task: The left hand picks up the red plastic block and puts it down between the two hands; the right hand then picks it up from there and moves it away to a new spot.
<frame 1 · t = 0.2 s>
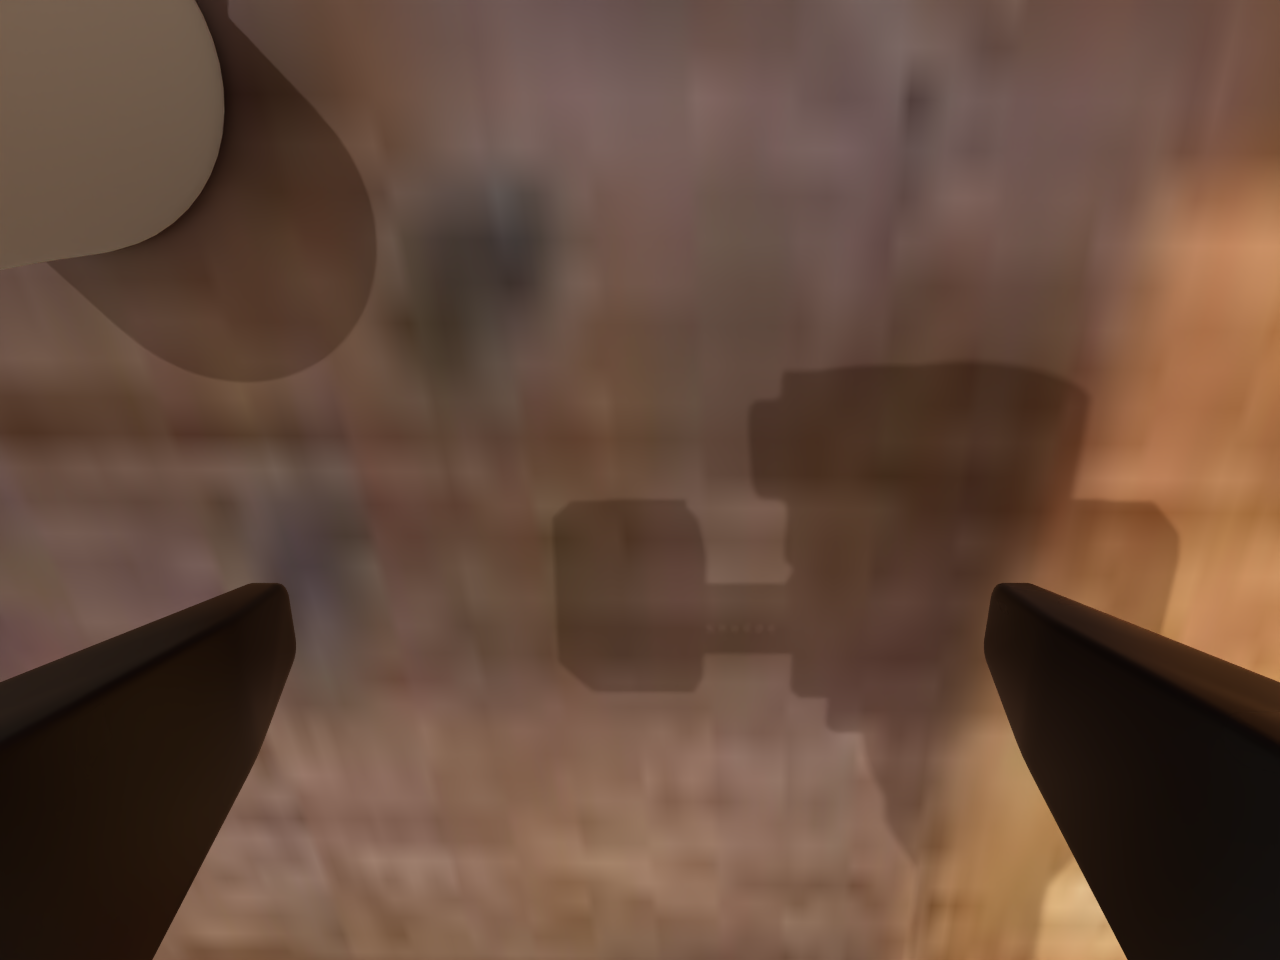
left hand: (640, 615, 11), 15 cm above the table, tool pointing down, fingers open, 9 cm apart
mug: (59, 2, 22), on the table
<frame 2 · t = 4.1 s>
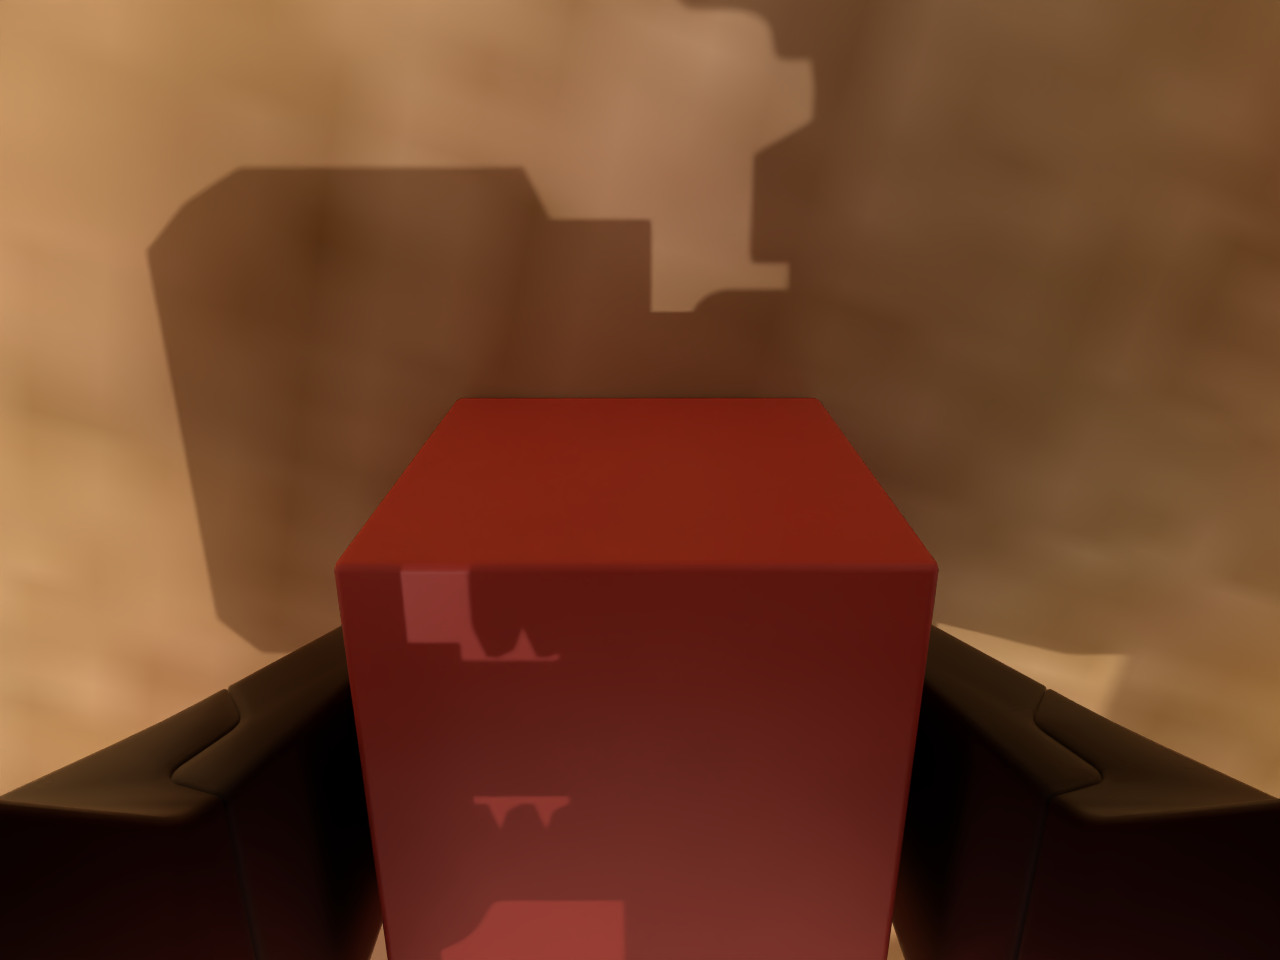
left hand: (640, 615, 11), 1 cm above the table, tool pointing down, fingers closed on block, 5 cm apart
block: (638, 578, 12), on the table, touching left hand
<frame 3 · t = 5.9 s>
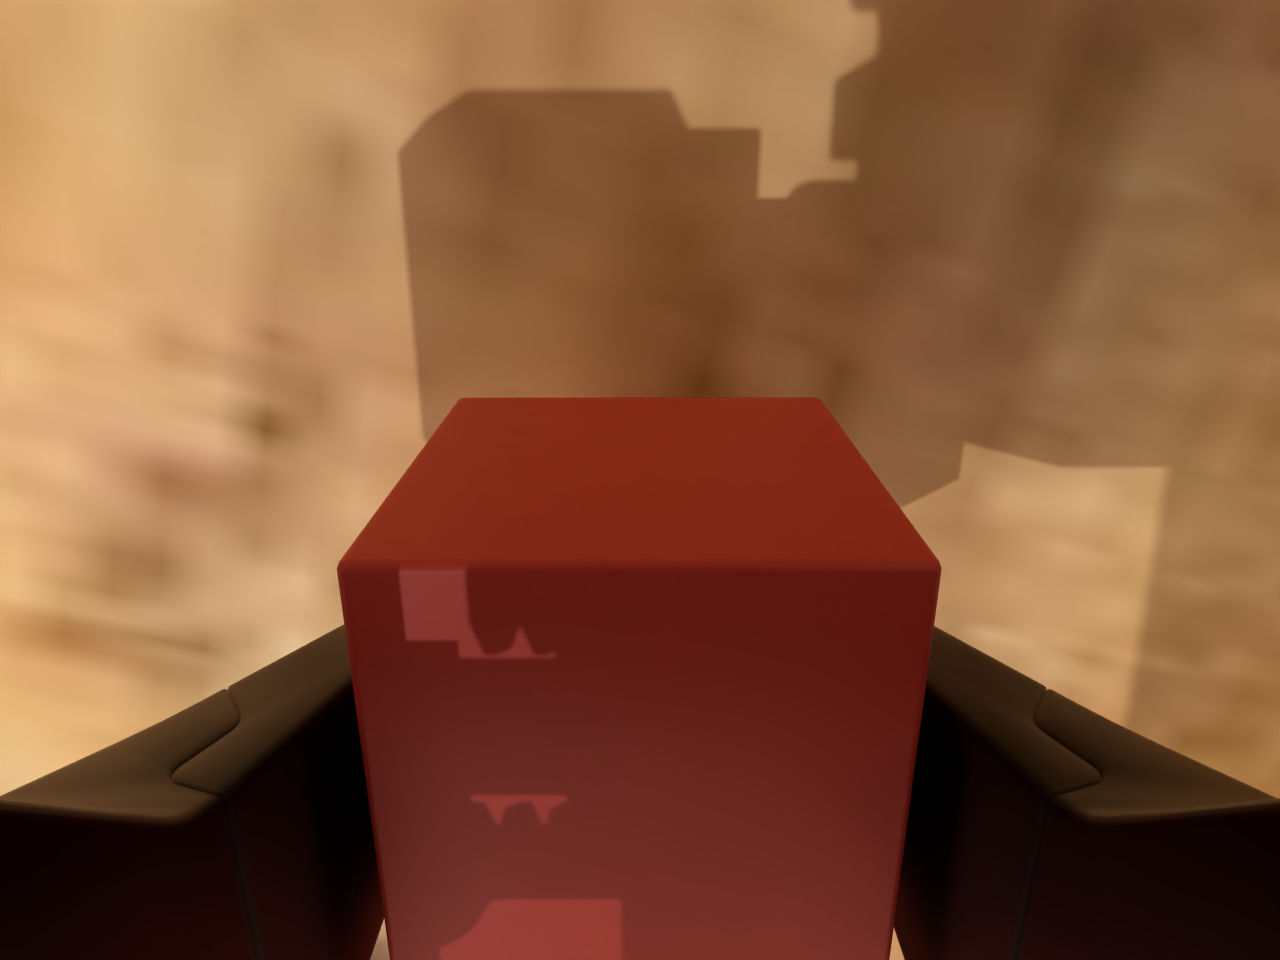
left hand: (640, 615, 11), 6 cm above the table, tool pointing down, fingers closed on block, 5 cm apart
block: (639, 578, 12), point 5 cm above the table, touching left hand
when the left hand's fingers open (2 cm above the table, at t = 7.7 s): block stays where it is, on the table.
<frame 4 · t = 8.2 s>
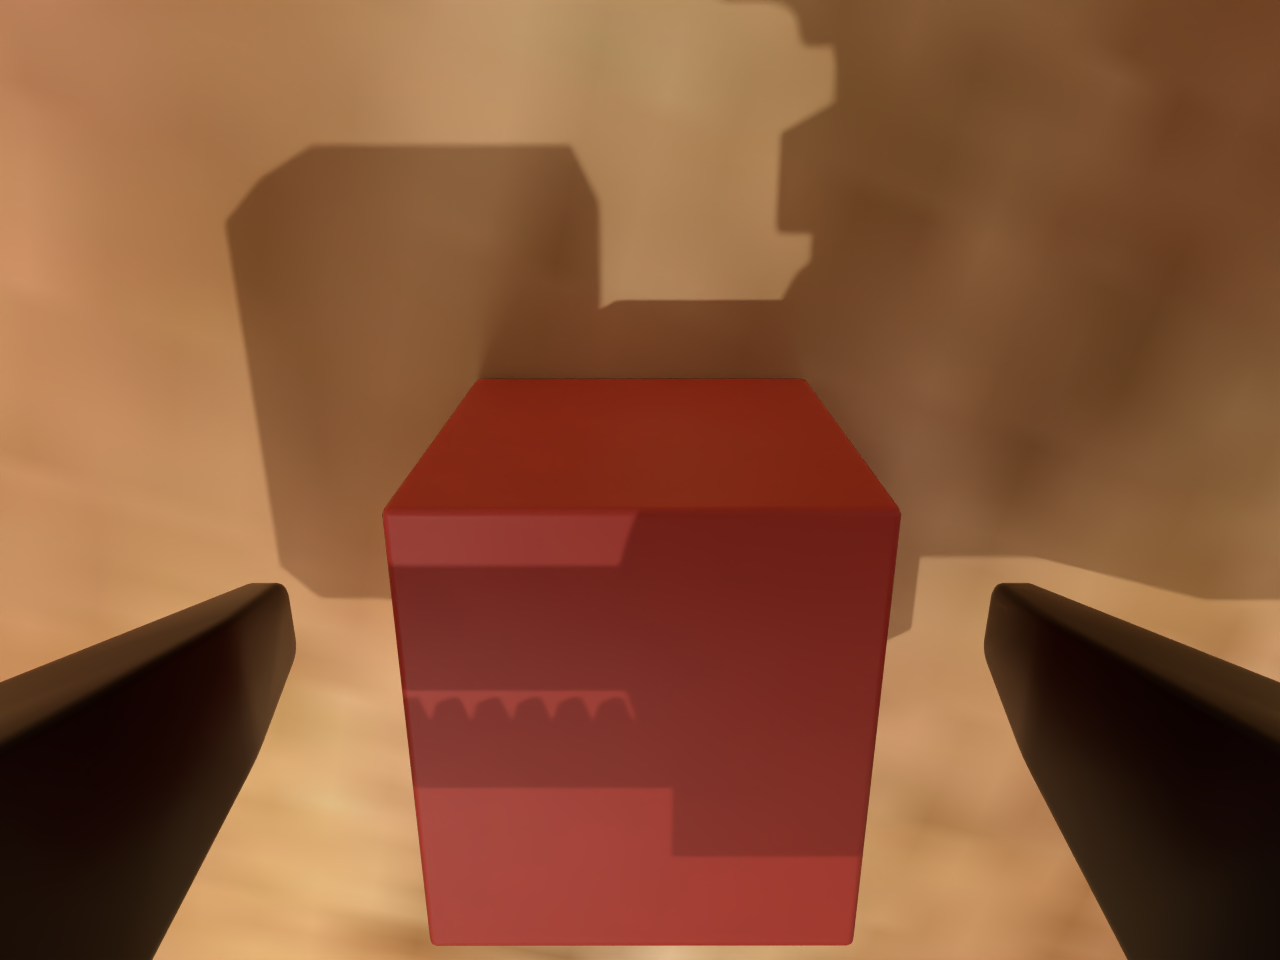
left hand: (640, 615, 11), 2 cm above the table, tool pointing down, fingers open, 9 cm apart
block: (641, 545, 13), on the table
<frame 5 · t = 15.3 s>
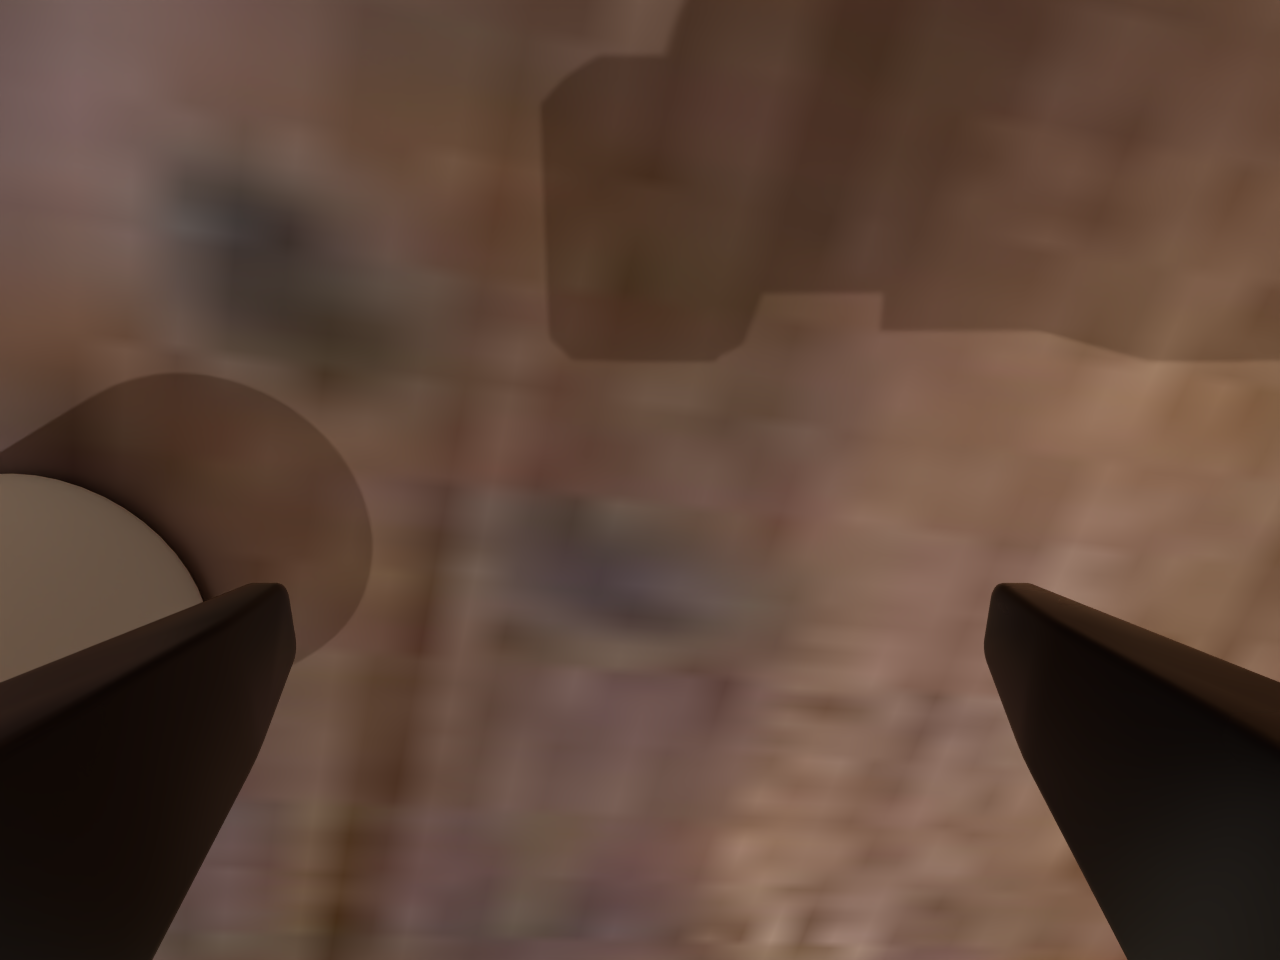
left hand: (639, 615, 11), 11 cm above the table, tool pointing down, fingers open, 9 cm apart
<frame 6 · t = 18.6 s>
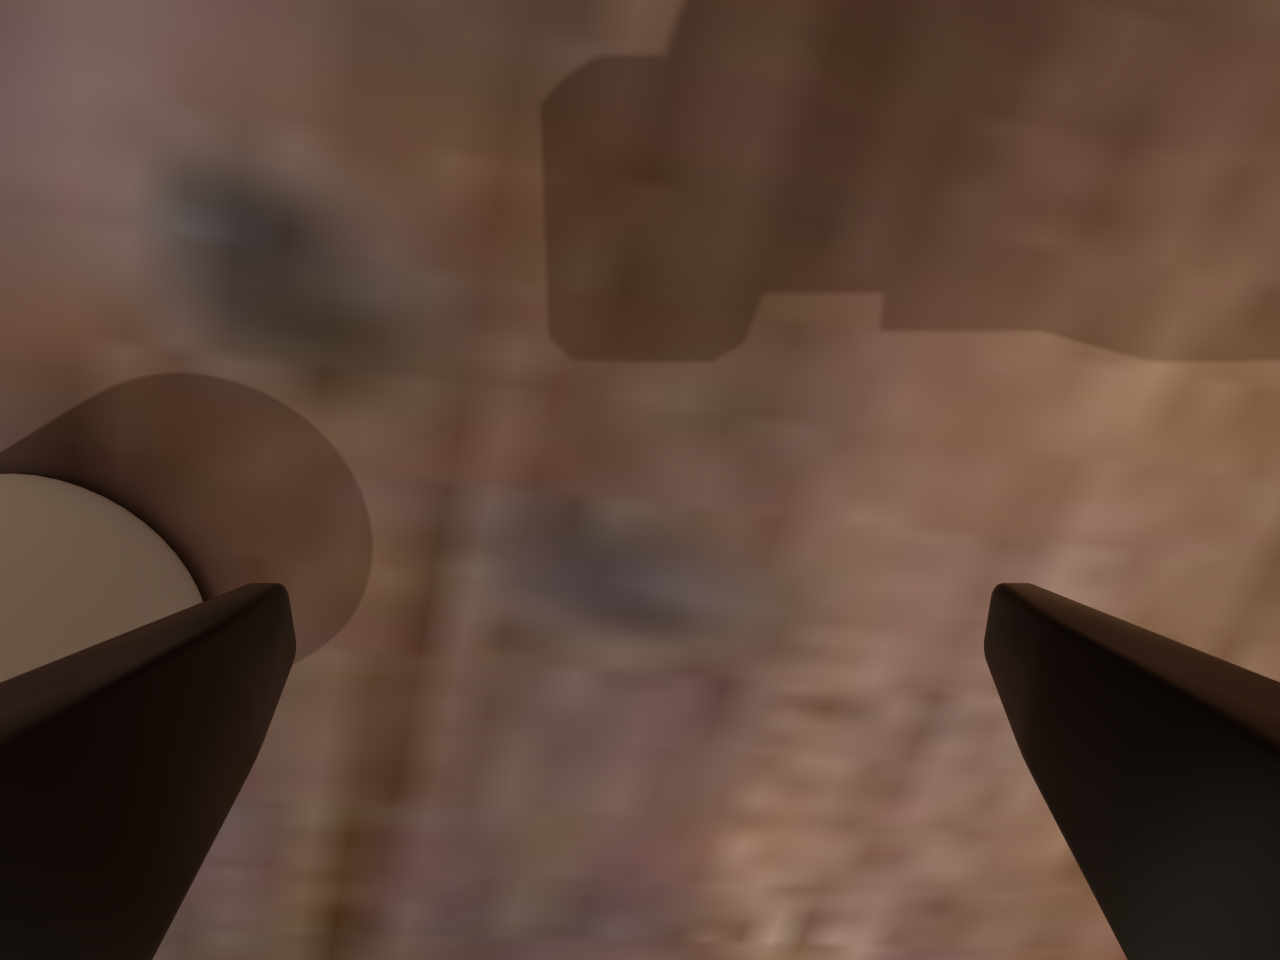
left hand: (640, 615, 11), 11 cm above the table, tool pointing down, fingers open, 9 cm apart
when the right hand's fingers open (1 cm above the table, at t = 22.3 s): block stays where it is, on the table.
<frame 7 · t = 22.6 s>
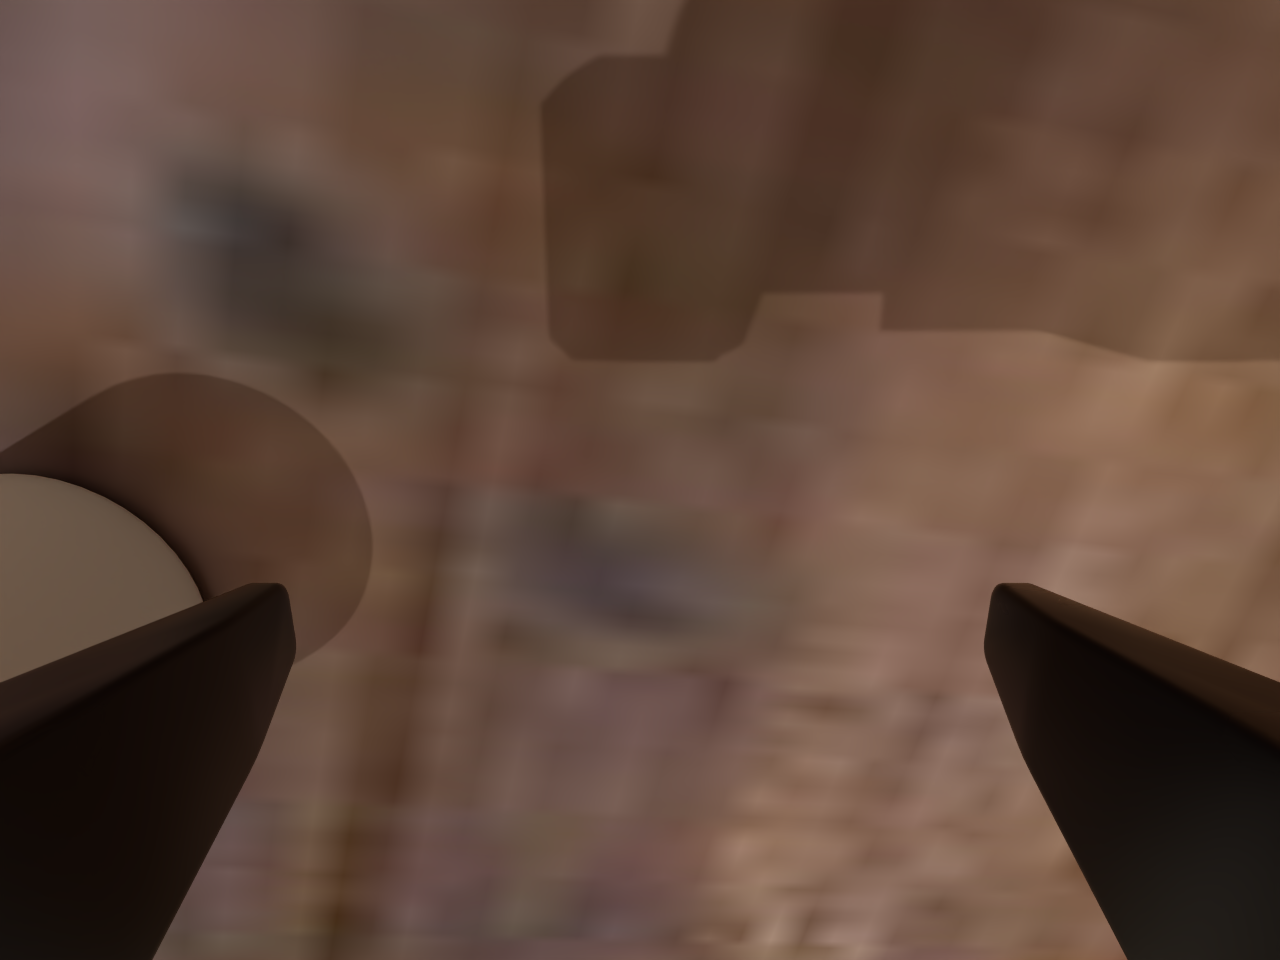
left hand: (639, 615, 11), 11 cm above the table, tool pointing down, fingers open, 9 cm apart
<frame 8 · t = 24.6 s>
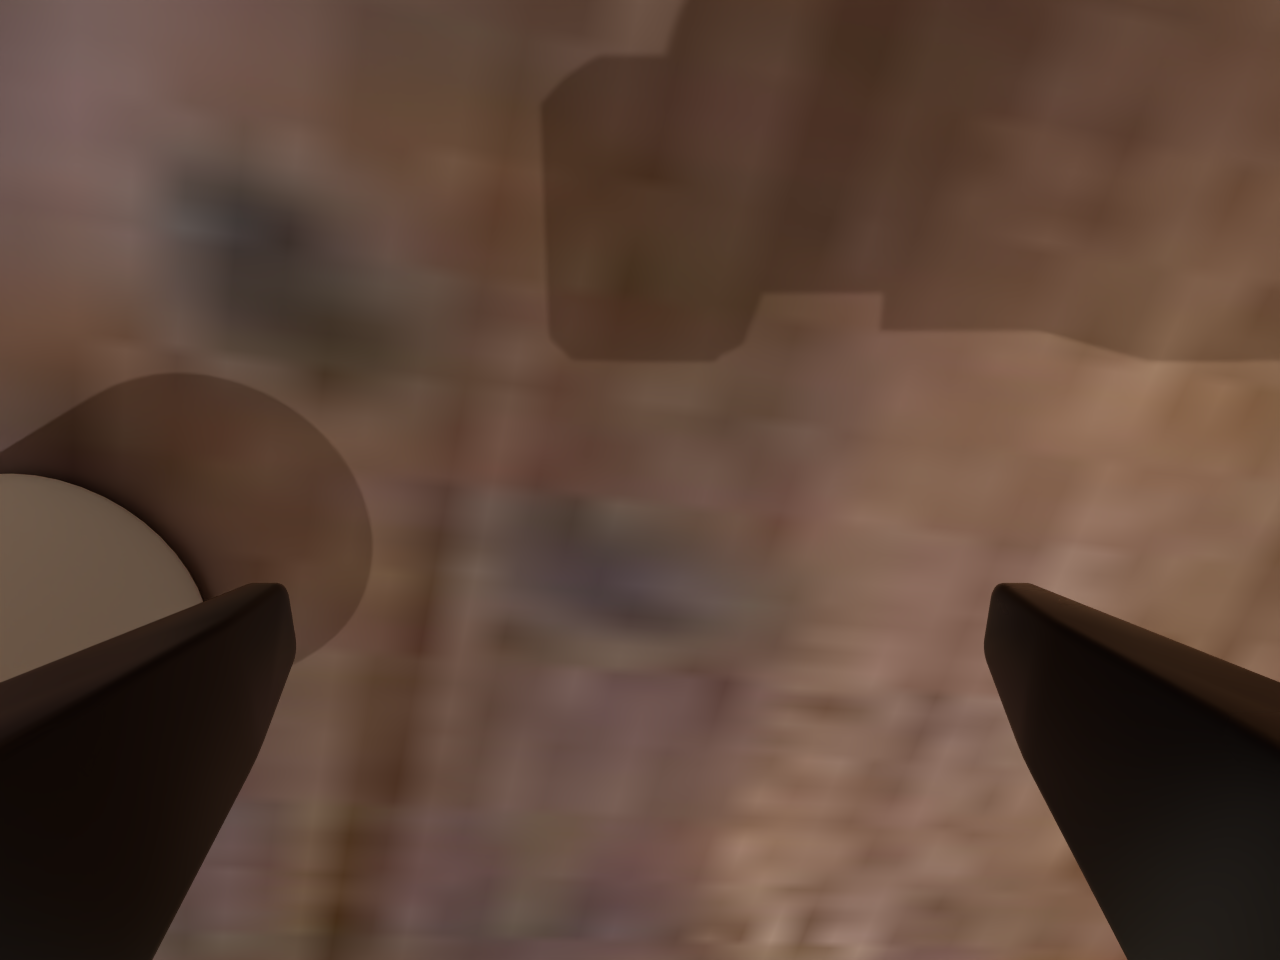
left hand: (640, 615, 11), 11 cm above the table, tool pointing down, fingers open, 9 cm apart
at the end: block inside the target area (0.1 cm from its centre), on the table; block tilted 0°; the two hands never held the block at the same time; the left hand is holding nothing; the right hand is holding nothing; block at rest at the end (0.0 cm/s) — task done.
